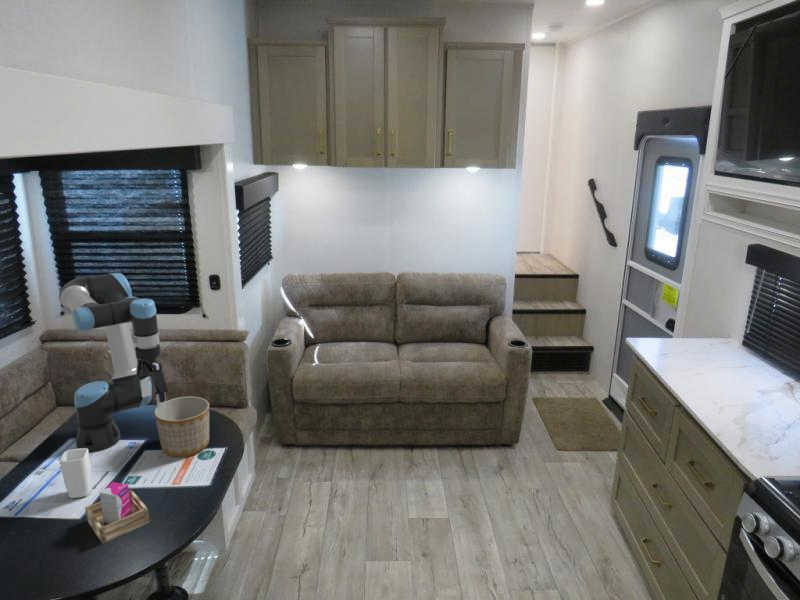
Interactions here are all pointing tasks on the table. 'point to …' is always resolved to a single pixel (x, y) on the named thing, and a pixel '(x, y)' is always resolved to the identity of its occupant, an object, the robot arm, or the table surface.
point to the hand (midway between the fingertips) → (154, 402)
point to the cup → (76, 472)
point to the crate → (120, 526)
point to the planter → (183, 426)
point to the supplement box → (115, 502)
